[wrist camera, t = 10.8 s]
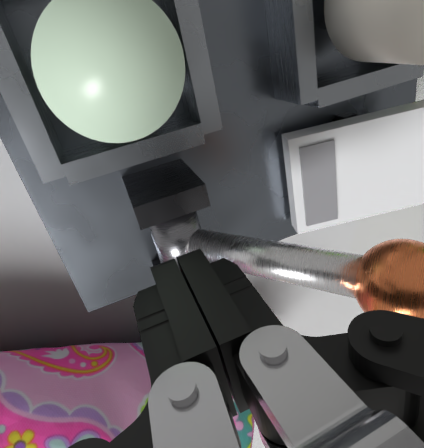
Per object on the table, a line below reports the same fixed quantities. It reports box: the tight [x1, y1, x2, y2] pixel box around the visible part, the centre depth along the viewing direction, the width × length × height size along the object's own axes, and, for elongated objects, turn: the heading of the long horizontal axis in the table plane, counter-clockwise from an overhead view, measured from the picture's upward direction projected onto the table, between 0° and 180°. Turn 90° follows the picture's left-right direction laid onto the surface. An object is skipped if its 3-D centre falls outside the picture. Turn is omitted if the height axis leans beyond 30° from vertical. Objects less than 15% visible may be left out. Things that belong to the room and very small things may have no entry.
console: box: [0, 0, 424, 312], centre depth 15 cm, size 12×17×8 cm
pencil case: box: [0, 342, 254, 448], centre depth 20 cm, size 21×9×9 cm, turn 76°
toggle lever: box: [149, 211, 424, 318], centre depth 12 cm, size 3×2×10 cm
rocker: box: [281, 100, 424, 234], centre depth 16 cm, size 4×6×1 cm
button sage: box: [31, 0, 185, 143], centre depth 11 cm, size 4×4×3 cm
